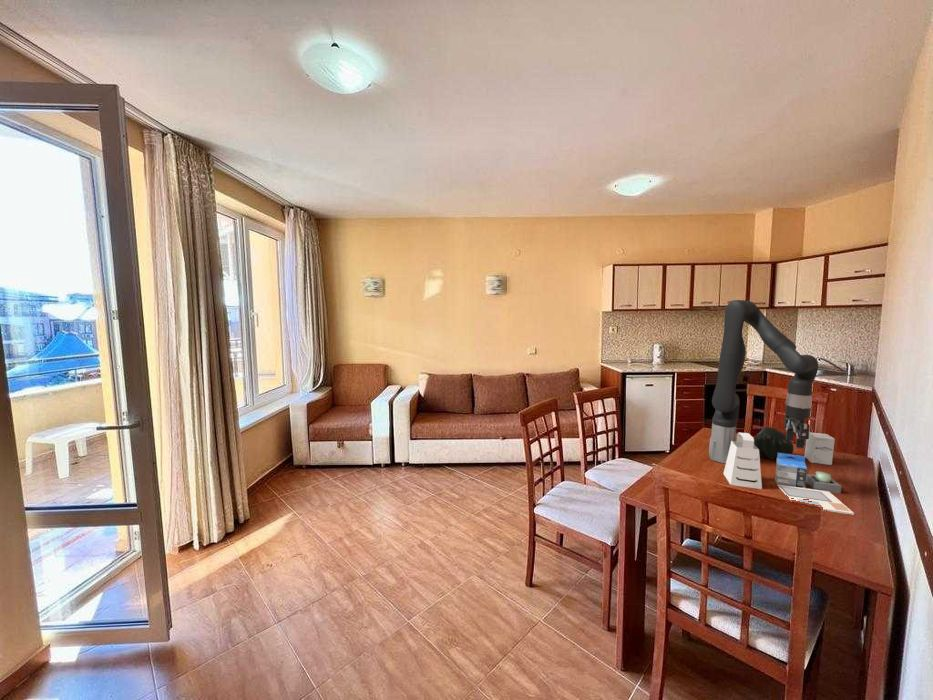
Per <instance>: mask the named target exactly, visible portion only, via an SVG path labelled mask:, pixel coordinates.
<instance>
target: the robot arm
mask: <svg viewBox="0 0 933 700" xmlns="http://www.w3.org/2000/svg"><path fill="white" fill-rule="evenodd" d="M723 322H724V323H723V325H724V326H723V328H724V329H723V334H722V341H721V342H722V343H721V349H720V354H719V361H718V370H717V379H716V384H715V388H714V391H713V394H712V398H711V404H712V407H713V408H714V409H715V411H714V414H713V416H712V421H711V423H712V424H711V435H710V436H709V445H708V446H709V448H708V457H709V458H710V460H711V461H713V462H714V461H715V462H716V463H717V462H718V463H721V464H726V461H727V457H728V453H729V449H730V445H731V441H736V436H737V424H738V423H737V422H738V420H739V414H740V405H741V404H740V397H739V395H738V393H736V388H737V387H736V386H737V383H738V380H739V378H740V375H741V373H742V371H743V368H744V365H745V360H746V356H747V355H746V353H747V350H746V344H745V341H744V338H743V328H744V322H745V323H746V324H748V325H750V326H751V327H752V328H754V330H755V331H756V332H757V334H758V335H759V338H760V339H761V341H762V342H763V343H764V344H765V346H767V347H768V348H769V350H771V351H772V352H773V353H774V354H776V355H777V356H778V359H779V360H780V361H781V364H783V365H784V367H785V368H786V369H787V370H789V371H790V372H792V373H794V376H793V377H792V378H790V380H789V381H788V387H787V395H786V398H785V399H786V400H785V409H784V420H783V421H784V423H783V428H784V429H785V431H786V433H785V435H786V439H787V440H790V441H791V442H792V441H794V435H796V441H795V447H796V448H797V449H804V448H805V447H804V446H805V442H806V439H809V432H810V424H809V423H806V422H805V420H806V419H807V420H808V419H810V418H811V414H812V404H813V403H812V402H813V397H812V394H813V384H814V381H815V380H816V377H817V374H818V370H819V361H818V359H817V358H816V357H815V356H813V355H810V354H800V353H799V352H798V350H797V345H796V344H795V343H794V342H793V341H792V340H791V339H790V338H788V336H786V335H785V334H784V333H782V332H781V331H780V330H779V329H778V328H777V327H776V326H775V325H773V323H772V322H771V321H770V320H769V319H768V318H767V316H765V314H764V313H763V312H762V311H761V309H760V308H759V307H758V306H757V305H756V304H755V303H754V302H753V301H751V300H747V299H746V300H743V299H734V300H732V301H730V302H728V304H727V305H726V307H725V311H724V321H723Z"/></svg>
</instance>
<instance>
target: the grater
mask: <svg viewBox="0 0 933 700" xmlns="http://www.w3.org/2000/svg"><path fill="white" fill-rule="evenodd" d="M760 456H761V455H760V454H759V449H758V448H757V447H756V446H755V445H754V437H753V436H752V435H751V434H750V433H748V432H736V440H735V441H731V445H730V449H729V453H728V457H727V461H726V463H725V464H724V465H725V466H724V470H723V476H724V477H725V478H726V480H727V482H728V484H729V485H731V486H737V487H744V488H751V489H759V490H763V484H762V473H761V472H762V471H761V458H760ZM753 481H754V482H753Z"/></svg>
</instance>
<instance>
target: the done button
mask: <svg viewBox="0 0 933 700" xmlns="http://www.w3.org/2000/svg"><path fill="white" fill-rule="evenodd" d="M814 475H815V480H816V481H817V482H823V483H830V480H831V478H832V475H831V474H830V473H828V472H825V471H821V470H820V471H815V474H814Z"/></svg>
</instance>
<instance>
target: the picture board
mask: <svg viewBox="0 0 933 700" xmlns="http://www.w3.org/2000/svg"><path fill="white" fill-rule="evenodd" d="M777 487H778V488H779V489H780V490H781V491H782V493H784V495H785V496H786V495H787V496H788V497H789V498H788V497H787V496H786V497H787V498H788V499H789V500H790V501H791V500H796V501H800V502H805V503H809V504H815V505H821V506H822V507H823V510H822V511H824V510H825V512H832V513H837V514H838V513H839V514H845V515H852V516H854V515H855V512H854V511H852V510H851V509H850V508H848V506H847V505H845V504H844V503H843V502H842V501H841V500H840V499H838V498H837V497H836V496H835V495H833V494H832V492H829V491H822V490H815V489H813V488H807V487H805V488H800V487H792V486H786V485H780V484H777ZM791 498H794V499H791ZM803 499H809V500H803ZM808 501H812V502H808ZM826 510H827V511H826Z"/></svg>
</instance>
